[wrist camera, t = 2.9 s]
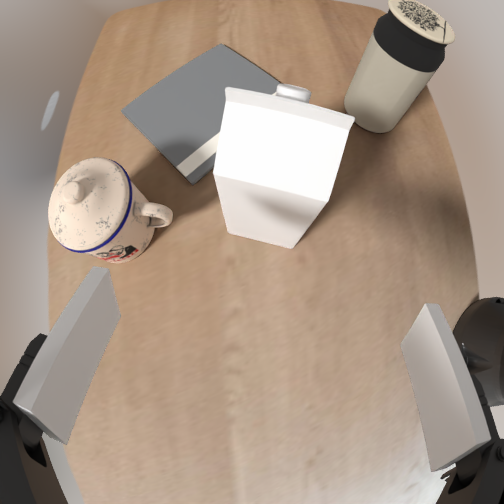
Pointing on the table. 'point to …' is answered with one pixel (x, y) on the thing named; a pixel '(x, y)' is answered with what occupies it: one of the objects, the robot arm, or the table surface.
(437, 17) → the travel mug
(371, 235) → the table surface
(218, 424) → the table surface
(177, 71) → the mat
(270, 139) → the milk carton
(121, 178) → the teacup with lid
